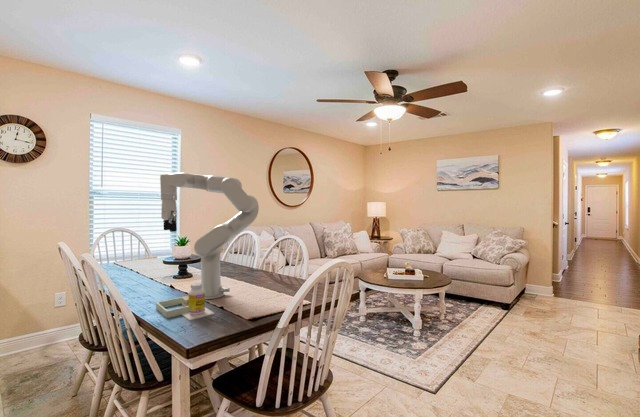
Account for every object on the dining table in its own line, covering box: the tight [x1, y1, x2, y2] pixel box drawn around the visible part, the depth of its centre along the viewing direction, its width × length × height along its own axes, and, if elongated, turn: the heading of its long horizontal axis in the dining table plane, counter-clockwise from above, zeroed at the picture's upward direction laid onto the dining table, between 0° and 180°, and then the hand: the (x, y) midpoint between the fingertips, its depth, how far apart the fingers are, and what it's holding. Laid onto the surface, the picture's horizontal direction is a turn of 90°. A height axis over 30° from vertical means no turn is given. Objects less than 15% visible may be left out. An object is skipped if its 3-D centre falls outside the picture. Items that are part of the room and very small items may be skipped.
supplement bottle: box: [188, 282, 206, 315], centre depth 148 cm, size 7×7×13 cm
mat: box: [180, 307, 215, 321], centre depth 149 cm, size 11×11×1 cm
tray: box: [155, 295, 189, 319], centre depth 155 cm, size 16×16×3 cm
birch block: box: [181, 295, 189, 308], centre depth 158 cm, size 4×4×4 cm
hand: (170, 230), depth 173 cm, fingers open, 9 cm apart
